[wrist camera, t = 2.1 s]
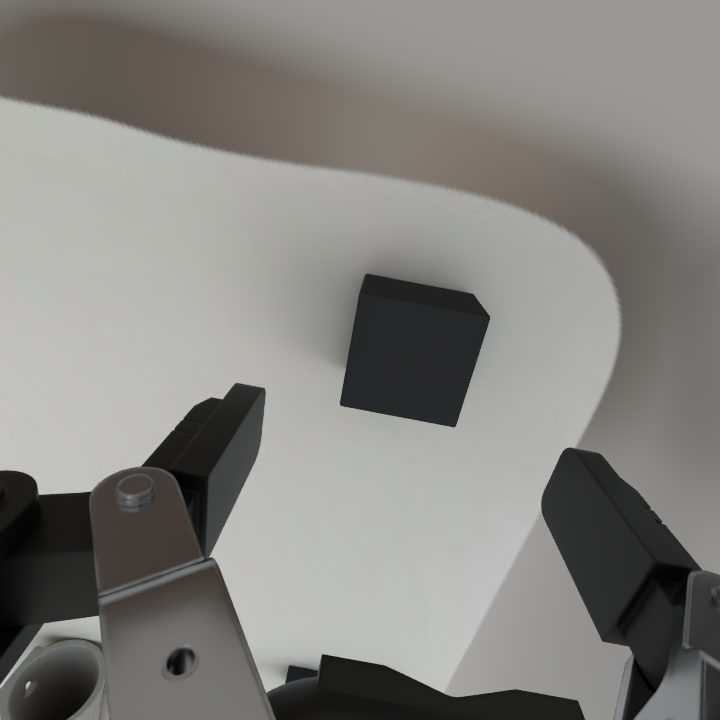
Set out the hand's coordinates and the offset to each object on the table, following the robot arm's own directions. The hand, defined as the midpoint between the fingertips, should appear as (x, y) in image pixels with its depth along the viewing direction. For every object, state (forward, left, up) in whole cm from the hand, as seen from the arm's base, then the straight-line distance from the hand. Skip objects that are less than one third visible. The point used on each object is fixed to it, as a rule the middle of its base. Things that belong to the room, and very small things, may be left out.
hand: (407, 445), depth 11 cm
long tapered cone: (+42, +6, -9) cm, 43 cm away
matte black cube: (0, 0, -9) cm, 9 cm away
